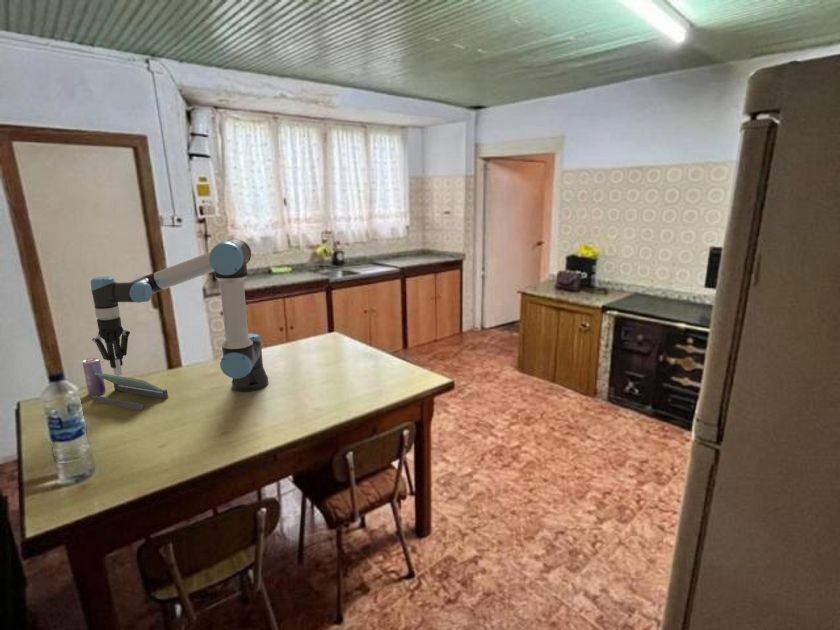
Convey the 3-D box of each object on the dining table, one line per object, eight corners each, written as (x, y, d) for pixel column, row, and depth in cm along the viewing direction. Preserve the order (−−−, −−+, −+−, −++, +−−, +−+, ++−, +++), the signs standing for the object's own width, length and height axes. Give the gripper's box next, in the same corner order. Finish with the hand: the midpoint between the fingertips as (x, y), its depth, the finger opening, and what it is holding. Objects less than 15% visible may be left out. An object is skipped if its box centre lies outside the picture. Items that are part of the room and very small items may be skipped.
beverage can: (109, 391, 192) (103, 358, 188) (95, 397, 187) (88, 363, 183) (99, 389, 194) (92, 356, 190) (85, 395, 189) (78, 361, 185)
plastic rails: (168, 397, 188) (167, 389, 187) (143, 411, 177) (142, 402, 176) (117, 389, 195) (116, 381, 194) (90, 401, 184) (89, 393, 183)
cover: (163, 392, 187) (164, 390, 188) (141, 382, 176) (142, 379, 177) (117, 384, 193) (118, 382, 194) (93, 374, 183) (95, 372, 183)
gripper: (120, 312, 181) (129, 367, 188) (84, 319, 170) (95, 378, 177) (131, 314, 178) (140, 370, 184) (95, 322, 167) (106, 382, 173)
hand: (118, 374), depth 180 cm, fingers closed
